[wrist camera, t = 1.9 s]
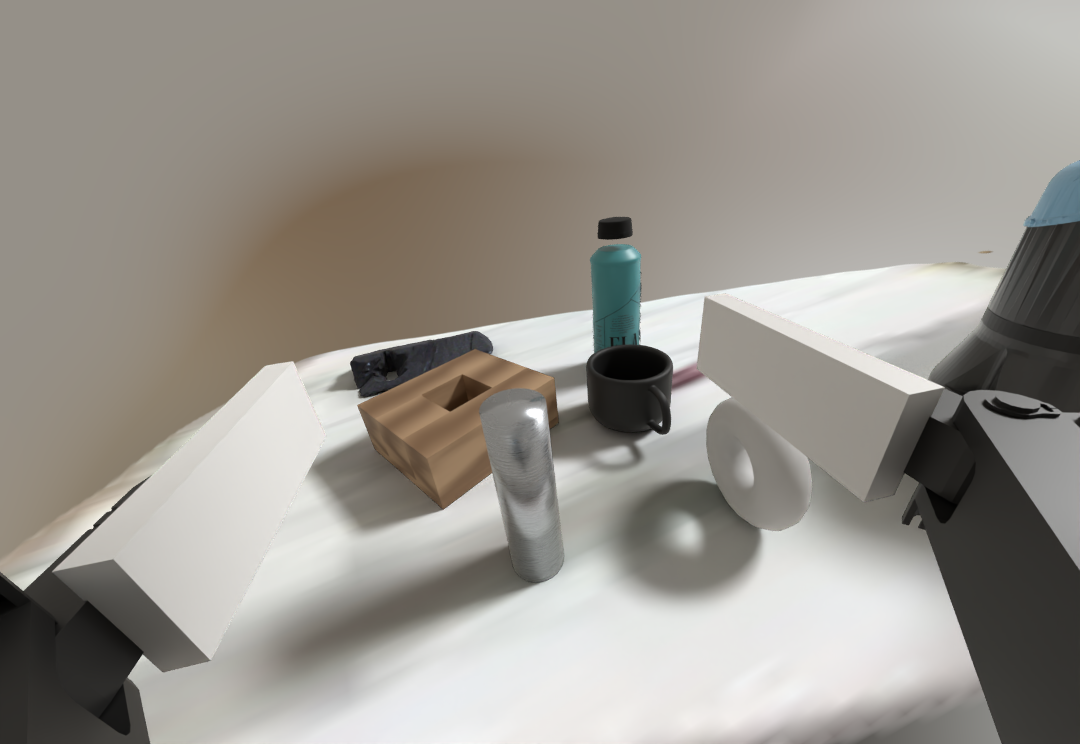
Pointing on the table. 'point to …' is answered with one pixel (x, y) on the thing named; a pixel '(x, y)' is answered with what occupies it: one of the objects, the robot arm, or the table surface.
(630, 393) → the mug
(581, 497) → the table surface
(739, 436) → the donut
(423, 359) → the dark slate chunk
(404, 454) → the block
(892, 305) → the table surface
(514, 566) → the pin
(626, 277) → the beverage bottle
